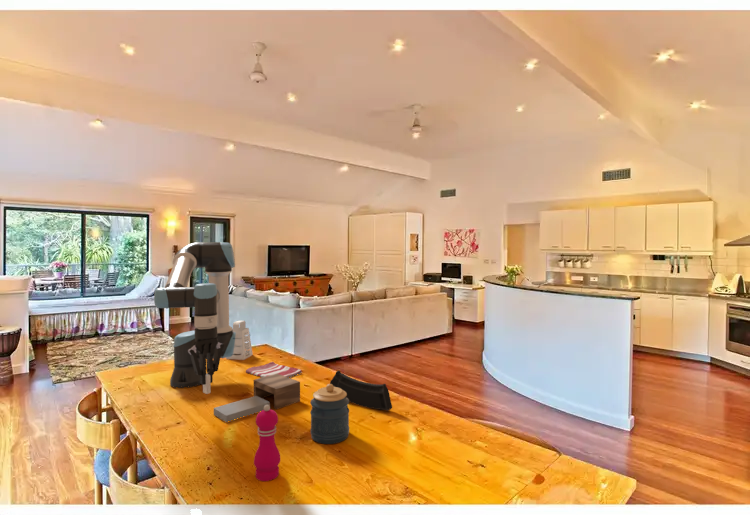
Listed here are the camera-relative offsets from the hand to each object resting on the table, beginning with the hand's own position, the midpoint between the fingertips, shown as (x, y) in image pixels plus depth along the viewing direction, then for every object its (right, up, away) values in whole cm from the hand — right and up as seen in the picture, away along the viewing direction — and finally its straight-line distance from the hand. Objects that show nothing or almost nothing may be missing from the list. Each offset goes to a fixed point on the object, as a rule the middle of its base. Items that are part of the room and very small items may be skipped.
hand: (206, 392), depth 152 cm
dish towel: (+10, -10, +59) cm, 60 cm away
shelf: (+19, -10, +22) cm, 31 cm away
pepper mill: (+30, -13, -33) cm, 46 cm away
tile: (+9, -11, +11) cm, 18 cm away
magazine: (+54, -11, +20) cm, 58 cm away
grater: (-16, -8, +88) cm, 89 cm away
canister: (+45, -12, -9) cm, 47 cm away
